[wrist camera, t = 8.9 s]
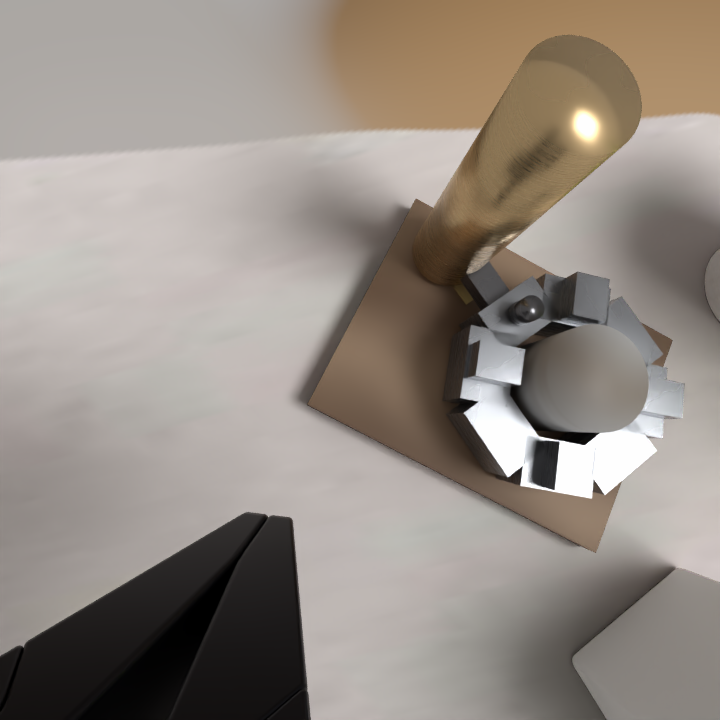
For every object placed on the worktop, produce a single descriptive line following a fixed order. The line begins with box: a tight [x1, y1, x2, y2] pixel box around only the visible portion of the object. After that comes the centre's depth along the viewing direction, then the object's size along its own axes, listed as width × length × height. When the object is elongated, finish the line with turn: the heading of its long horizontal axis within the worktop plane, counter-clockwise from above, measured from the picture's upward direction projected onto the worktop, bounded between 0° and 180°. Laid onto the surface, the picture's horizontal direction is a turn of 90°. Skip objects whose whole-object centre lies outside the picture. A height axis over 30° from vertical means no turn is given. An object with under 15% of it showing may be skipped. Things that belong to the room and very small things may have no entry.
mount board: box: [307, 199, 673, 553], centre depth 19 cm, size 11×14×5 cm
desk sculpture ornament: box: [412, 35, 684, 498], centre depth 15 cm, size 9×14×10 cm, turn 35°
